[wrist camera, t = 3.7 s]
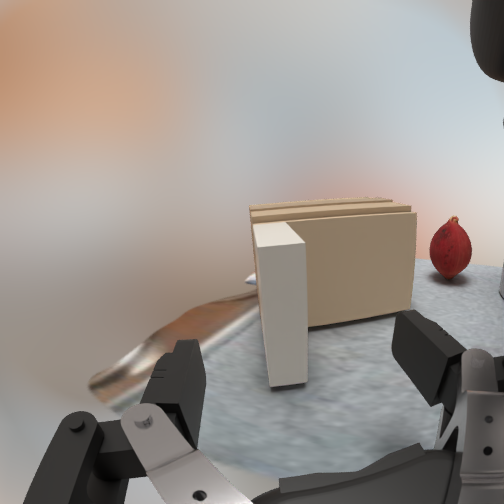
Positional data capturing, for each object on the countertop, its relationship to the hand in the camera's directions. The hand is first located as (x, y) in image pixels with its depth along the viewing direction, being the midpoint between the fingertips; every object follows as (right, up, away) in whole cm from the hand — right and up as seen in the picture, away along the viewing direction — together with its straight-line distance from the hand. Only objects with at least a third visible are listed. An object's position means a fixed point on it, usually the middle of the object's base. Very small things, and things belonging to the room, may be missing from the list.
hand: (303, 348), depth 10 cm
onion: (+23, 0, +19) cm, 29 cm away
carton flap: (+6, -3, +10) cm, 12 cm away
